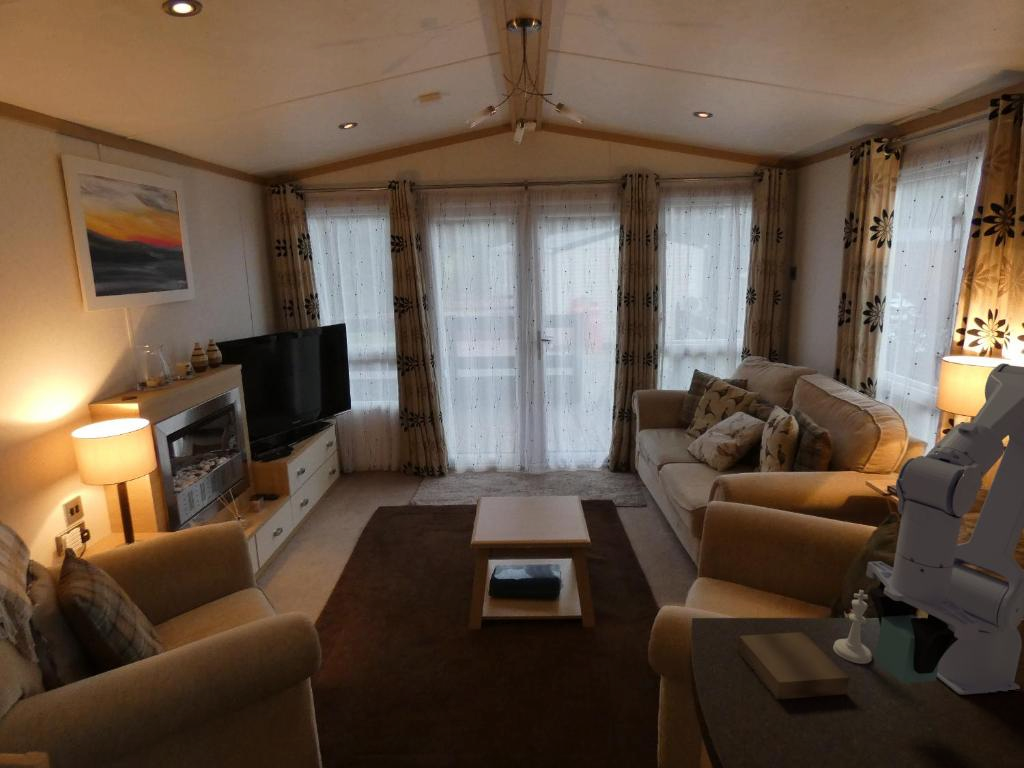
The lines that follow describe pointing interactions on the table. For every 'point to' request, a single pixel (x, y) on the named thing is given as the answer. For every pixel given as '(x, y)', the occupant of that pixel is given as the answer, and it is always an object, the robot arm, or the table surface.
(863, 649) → the chess piece
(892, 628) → the teal block
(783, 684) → the walnut base
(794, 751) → the table surface
